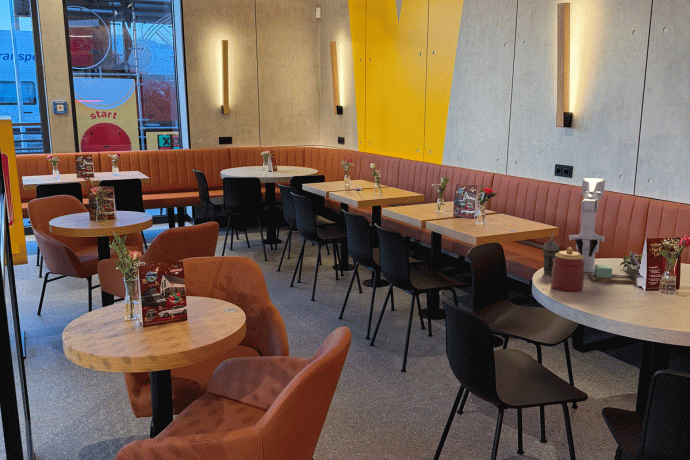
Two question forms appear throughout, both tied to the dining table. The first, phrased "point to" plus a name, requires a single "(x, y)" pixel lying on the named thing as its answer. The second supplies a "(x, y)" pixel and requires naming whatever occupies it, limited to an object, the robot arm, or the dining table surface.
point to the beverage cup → (549, 255)
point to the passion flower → (632, 260)
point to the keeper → (603, 271)
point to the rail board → (618, 277)
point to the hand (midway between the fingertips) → (585, 256)
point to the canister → (568, 271)
